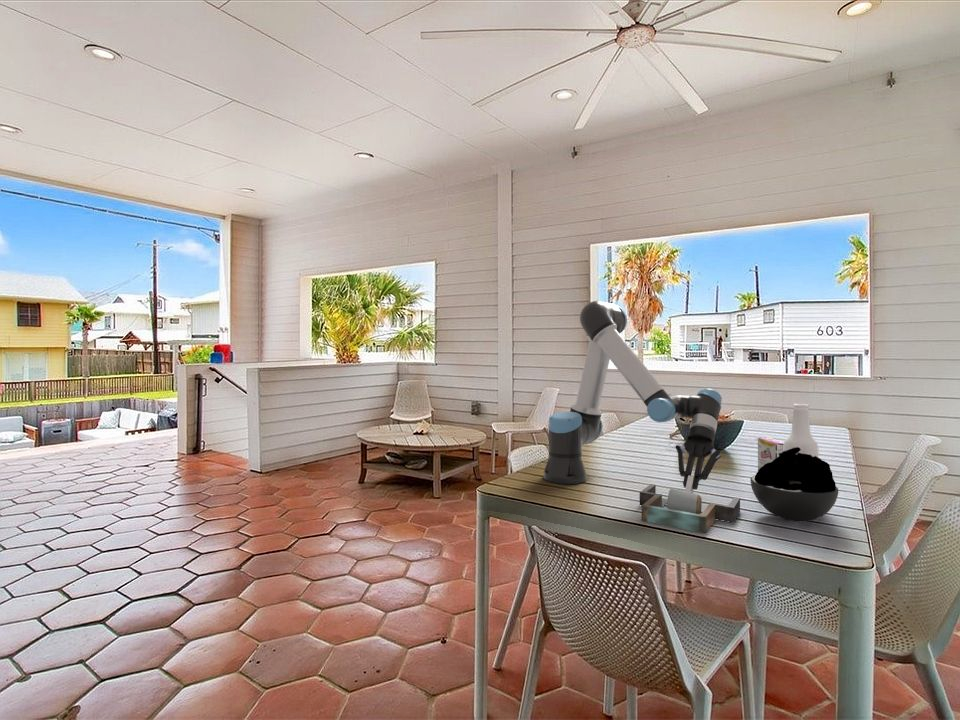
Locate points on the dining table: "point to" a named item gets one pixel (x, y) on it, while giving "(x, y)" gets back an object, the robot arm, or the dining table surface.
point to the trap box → (681, 519)
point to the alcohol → (801, 432)
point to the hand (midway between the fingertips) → (687, 497)
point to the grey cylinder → (684, 501)
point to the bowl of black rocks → (795, 486)
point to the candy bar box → (768, 450)
